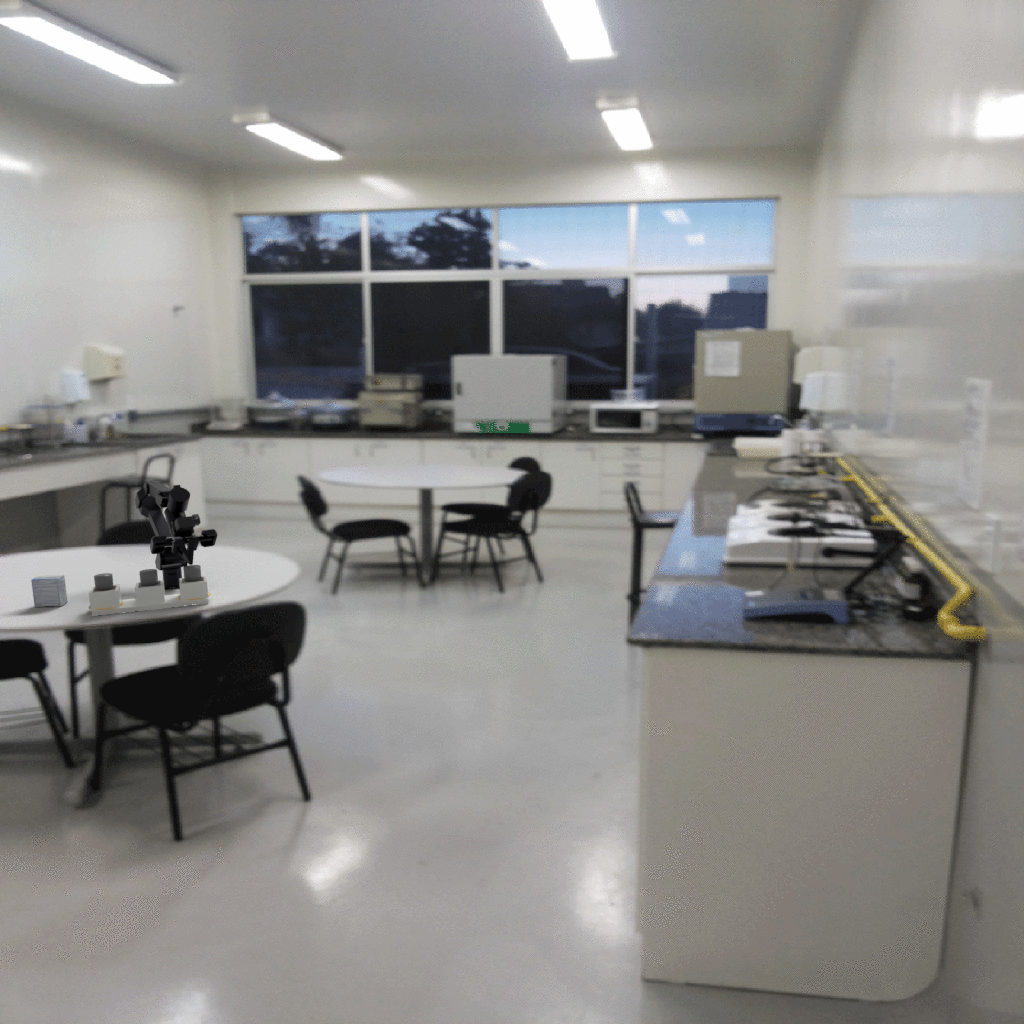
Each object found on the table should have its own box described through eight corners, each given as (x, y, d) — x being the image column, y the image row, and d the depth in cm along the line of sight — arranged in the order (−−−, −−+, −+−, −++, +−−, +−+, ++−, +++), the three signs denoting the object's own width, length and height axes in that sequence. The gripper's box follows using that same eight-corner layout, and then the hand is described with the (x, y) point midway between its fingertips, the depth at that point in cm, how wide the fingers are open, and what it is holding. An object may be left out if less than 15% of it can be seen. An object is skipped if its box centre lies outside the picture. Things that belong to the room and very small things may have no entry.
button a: (184, 578, 264) (183, 565, 263) (201, 577, 265) (200, 564, 265) (184, 582, 259) (183, 569, 259) (201, 580, 261) (200, 567, 260)
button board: (90, 608, 258) (88, 586, 257) (210, 595, 270) (208, 574, 269) (87, 617, 249) (85, 594, 248) (211, 603, 260) (209, 581, 259)
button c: (96, 587, 255) (94, 574, 255) (114, 585, 257) (112, 572, 256) (94, 591, 251) (93, 577, 250) (113, 589, 253) (111, 576, 252)
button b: (140, 583, 260) (139, 570, 259) (158, 581, 261) (157, 568, 261) (140, 587, 255) (139, 573, 254) (158, 585, 257) (156, 571, 256)
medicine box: (68, 602, 265) (65, 574, 263) (61, 606, 261) (58, 578, 259) (41, 603, 265) (38, 575, 263) (34, 607, 260) (30, 579, 259)
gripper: (148, 509, 258) (162, 552, 251) (213, 502, 268) (227, 543, 261) (144, 532, 265) (157, 574, 258) (207, 524, 276) (221, 565, 269)
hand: (191, 563), depth 262 cm, fingers closed
